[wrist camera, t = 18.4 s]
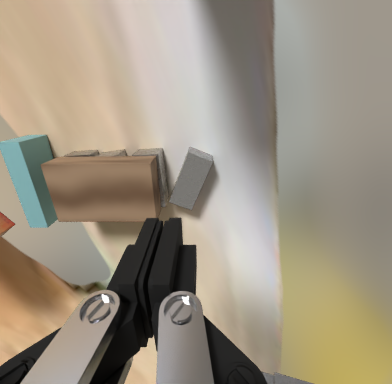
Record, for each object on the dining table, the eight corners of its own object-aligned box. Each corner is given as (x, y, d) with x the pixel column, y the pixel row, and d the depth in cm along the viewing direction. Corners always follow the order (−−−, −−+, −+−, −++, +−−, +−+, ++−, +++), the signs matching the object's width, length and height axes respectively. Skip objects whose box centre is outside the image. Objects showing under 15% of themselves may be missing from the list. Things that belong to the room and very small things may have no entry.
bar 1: (75, 150, 37) (63, 156, 34) (98, 149, 37) (88, 154, 34) (87, 193, 40) (78, 202, 37) (109, 192, 40) (101, 201, 37)
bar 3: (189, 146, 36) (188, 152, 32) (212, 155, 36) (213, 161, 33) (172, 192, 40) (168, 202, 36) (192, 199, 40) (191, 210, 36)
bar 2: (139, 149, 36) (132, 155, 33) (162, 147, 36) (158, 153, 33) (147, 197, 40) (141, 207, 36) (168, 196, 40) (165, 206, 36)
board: (58, 156, 33) (40, 164, 29) (155, 155, 33) (150, 163, 29) (73, 208, 37) (58, 221, 33) (161, 208, 36) (156, 221, 33)
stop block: (28, 135, 36) (-3, 142, 30) (46, 134, 36) (18, 142, 30) (53, 209, 41) (30, 227, 36) (68, 209, 41) (47, 227, 36)
